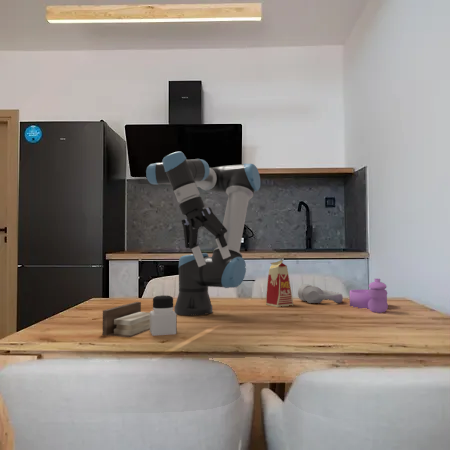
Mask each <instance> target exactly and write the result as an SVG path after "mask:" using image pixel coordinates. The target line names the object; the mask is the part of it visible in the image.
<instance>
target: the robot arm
mask: <svg viewBox="0 0 450 450" xmlns="http://www.w3.org/2000/svg"><path fill="white" fill-rule="evenodd" d="M145 173H146V175H145V176H146V179H147V181H148V182H149V184H151V185H157V186H158V185H170V186H171V189H172V192H173V193H174V195H175V199H176V200H177V203H179V210H180V211H181V213H182V215H183V216H185V217H186V218H185V219H181V225H182V227H183V236H184V239H183V240H184V246H185V248H186V249H189V250H191V252H192V253H191V254H186V255H182V256H180V258H179V260H178V266H177V267H178V295H177V297H176V302H175V305H174V306H173V311H174V312H175V313H176V314H177V315H181V316H205V315H208V314H212V313H213V305H212V301H211V298H210V294H209V287H211V288H224V289H229V288H230V289H232V288H234V289H235V288H237V287H239V286H240V285H241V284H242V283H243V281H244V279H245V277H246V272H247V271H246V270H247V268H246V267H247V264H246V263H247V262H246V261H245V259H244V258H243V254H242V252H240V249H241V245H242V239H243V235H244V234H243V233H244V227H245V223H246V222H245V221H246V218H247V217H246V216H247V211H248V205H249V201H250V200H251V199H252V198H254V192H258V191H259V190H260V188H261V176H260V172H259V169H258V167H257V165H255V164H254V163H243V164H232V165H220V166H215V167H210V166H209V164H208V162H207V161H206V160H205V159H200V158H195V159H187V157H186V155H185V154H184V153H183V152H182V151H175V152H172V153H169V154H167V155H165V156H164V157H163V159H162V161H161V162H155V163H150V164H149V165H148V166H147V167H146V170H145ZM199 188H200V189H201V190H203V191H209V192H215V193H225V194H226V195H227V196H228V198H227V202H226V205H225V206H226V207H225V212H224V216H223V221H222V222H221V221H220V220H219V219H218V217H217V216H216V214H214V212H213V210H212V208H211V207H210V206H209V207H205V203H204V201H203V198H202V197H201V196H200V194H201V193H200V191H199ZM204 207H205V208H204ZM201 227H203V228H205V229H206V230H207V231H209V233H211V234H212V235H213V236H214V237H215V238H214V239H215V243H216V245H217V247H216V248H214V249H213V251H212V256H209V254H208V253H207V252H202V251H201V248H200V246H199V244H198V233H199V229H200V228H201Z"/></svg>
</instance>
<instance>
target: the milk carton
mask: <svg viewBox="0 0 450 450" xmlns="http://www.w3.org/2000/svg"><path fill="white" fill-rule="evenodd" d="M270 264H271V265H270V267H269V269H268V276H267V286H266V297H265V299H266V300H265V305H267V306H271V307H276V308H279V307H281V306H282V307H289V305H292V306H294V299H293V293H292V288H291V282H290V276H289V271H288V266H287V265H286V264H285V263H283V259H281V260H279V261H276V262H270Z"/></svg>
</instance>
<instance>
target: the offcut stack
mask: <svg viewBox="0 0 450 450" xmlns="http://www.w3.org/2000/svg"><path fill="white" fill-rule="evenodd" d="M114 324H117V328H115V329H114V334H121V335H134V334H136V333H139V332H142V331H144V330H147V329H149V328H150V312H145V311H141V312H137V313H134V314H131V315H127V316H124V317H120V318H117V319H114Z"/></svg>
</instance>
